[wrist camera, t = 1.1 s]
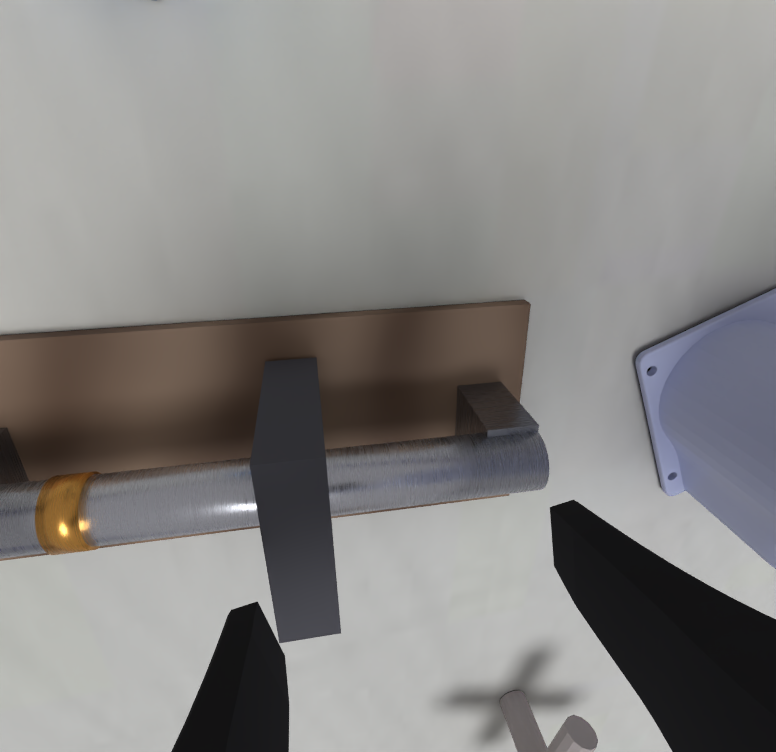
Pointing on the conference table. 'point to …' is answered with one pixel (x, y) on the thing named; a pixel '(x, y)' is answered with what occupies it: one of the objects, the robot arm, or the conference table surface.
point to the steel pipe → (236, 493)
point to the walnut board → (246, 384)
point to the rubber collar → (295, 500)
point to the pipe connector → (567, 747)
